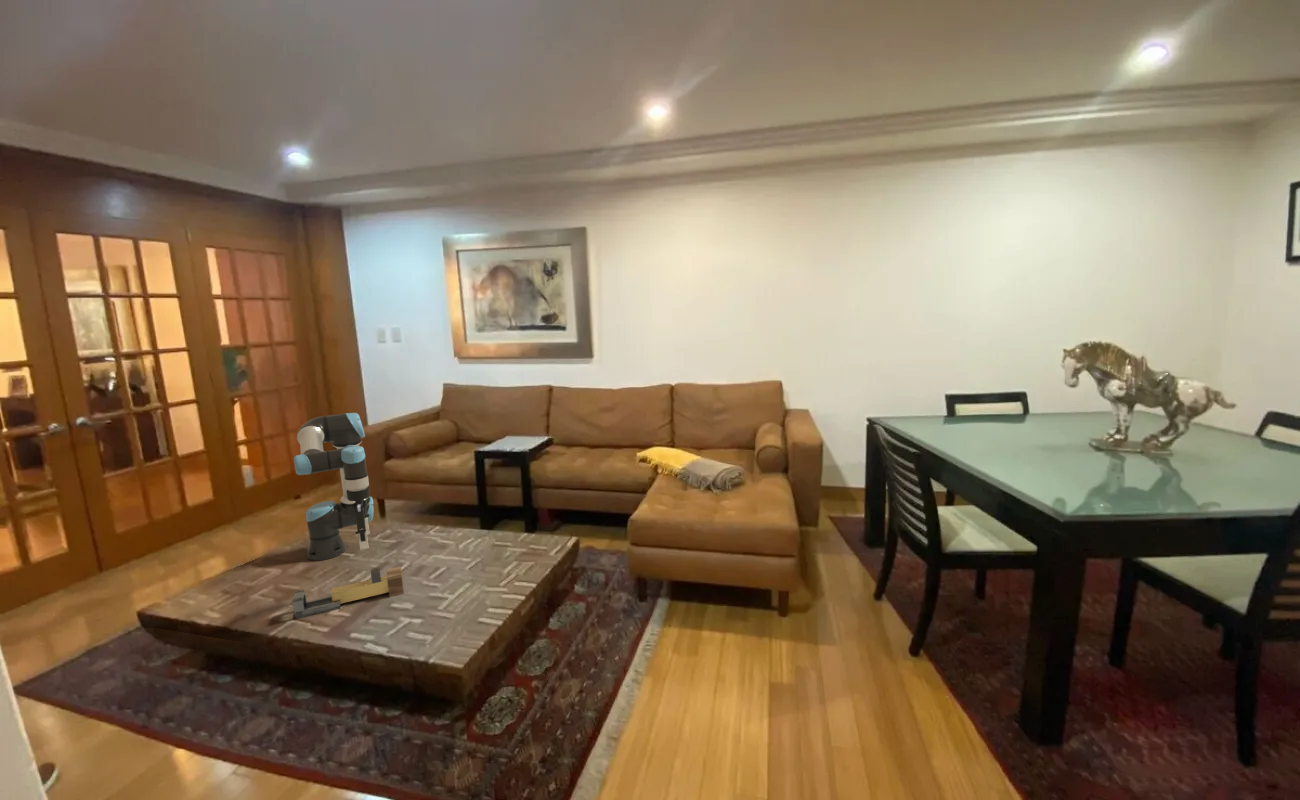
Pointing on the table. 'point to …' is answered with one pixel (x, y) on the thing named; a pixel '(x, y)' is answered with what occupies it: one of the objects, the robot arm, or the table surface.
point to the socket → (395, 581)
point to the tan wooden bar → (361, 588)
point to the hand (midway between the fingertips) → (365, 541)
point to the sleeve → (312, 605)
